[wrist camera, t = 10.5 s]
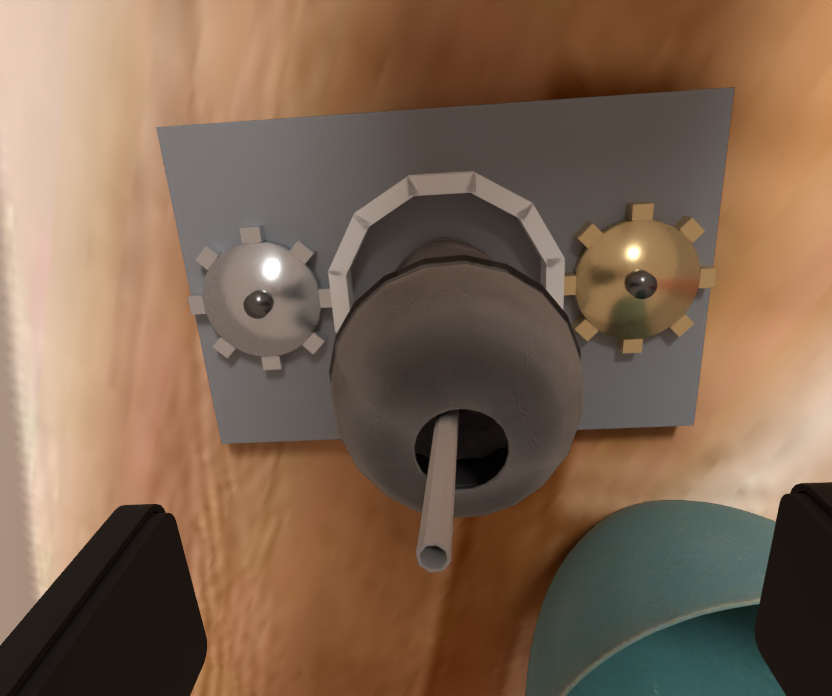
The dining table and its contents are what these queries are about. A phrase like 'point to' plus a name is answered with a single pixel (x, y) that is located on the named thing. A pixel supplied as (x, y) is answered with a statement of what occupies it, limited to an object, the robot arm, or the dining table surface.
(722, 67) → the dining table surface
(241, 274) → the gear
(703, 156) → the gear board
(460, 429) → the beverage cup
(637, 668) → the plant pot
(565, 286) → the gear
